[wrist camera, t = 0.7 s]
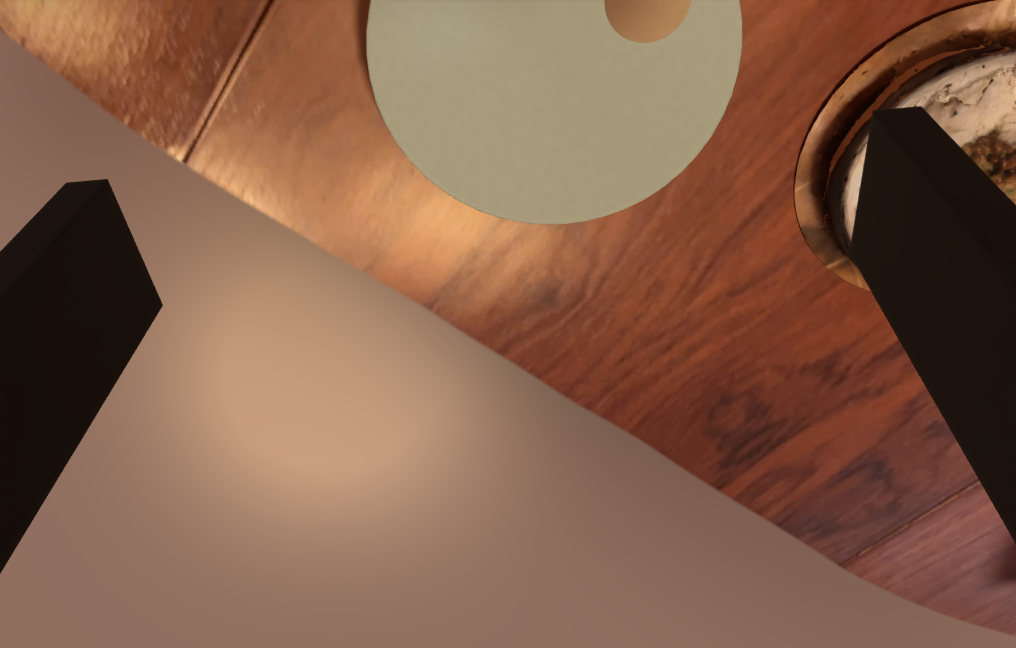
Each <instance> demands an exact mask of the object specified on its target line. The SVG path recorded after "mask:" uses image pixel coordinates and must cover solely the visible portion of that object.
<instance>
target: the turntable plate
mask: <svg viewBox="0 0 1016 648" xmlns="http://www.w3.org/2000/svg"><path fill="white" fill-rule="evenodd" d="M741 50H742V14H741V7H740V0H371V1H370V5H369V13H368V20H367V28H366V56H367V63H368V71H369V78H370V82H371V86H372V89H373V93H374V97H375V101H376V103H377V106H378V108H379V110H380V113H381V115H382V118H383V120H384V123H385V124H386V126H387V128H388V130H389V131H390V133H391V135H392V137H393V138H394V140H395V142H396V143H397V145H398V146H399V147H400V149H401V150H402V151H403V153H404V154H405V155H406V157H407V158H408V159H409V161H410V162H411V163H412V164H413V165H414V166H415V167H416V168H417V169H418V170H419V171H420V172H421V173H422V174H423V175H424V176H425V177H426V178H427V179H429V180H430V181H431V182H432V183H433V184H435V185H436V186H437V187H438V188H440V189H441V190H442V191H444V192H445V193H447V194H448V195H450V196H452V197H453V198H455V199H456V200H458V201H460V202H462V203H464V204H466V205H468V206H470V207H472V208H474V209H476V210H478V211H481V212H484V213H487V214H490V215H493V216H496V217H498V218H502V219H507V220H512V221H516V222H522V223H532V224H568V223H576V222H583V221H588V220H592V219H596V218H600V217H604V216H607V215H610V214H613V213H615V212H618V211H621V210H623V209H626V208H628V207H630V206H632V205H634V204H636V203H638V202H640V201H642V200H644V199H646V198H647V197H649V196H650V195H652V194H653V193H655V192H656V191H658V190H659V189H661V188H663V187H664V186H665V185H667V184H668V183H669V182H670V181H671V180H672V179H674V178H675V177H676V176H677V175H678V174H680V173H681V172H682V171H683V170H684V169H685V168H686V167H687V166H688V165H689V163H690V162H691V161H692V160H693V159H694V158H695V157H696V156H697V155H698V154H699V152H700V151H701V150H702V148H703V147H704V146H705V144H706V143H707V141H708V140H709V139H710V137H711V136H712V134H713V133H714V131H715V129H716V127H717V126H718V124H719V122H720V120H721V118H722V117H723V115H724V112H725V110H726V108H727V105H728V103H729V100H730V98H731V95H732V93H733V89H734V86H735V82H736V78H737V75H738V71H739V65H740V58H741Z"/></svg>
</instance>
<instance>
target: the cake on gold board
mask: <svg viewBox="0 0 1016 648" xmlns="http://www.w3.org/2000/svg"><path fill="white" fill-rule="evenodd" d="M917 106H921V107H922V108H923V109H924V110H925V111H926V112H927V113H928V114H929V115H930V116H931V117H932V118H933V119H934V120H935V121H936V122H937V123H938V124H939V125H940V126H941V127H942V129H943V130H944V131H945V132H946V133H947V134H948V135H949V136H950V137H951V138H952V139H953V140H954V141H955V142H956V143H957V144H958V145H959V146H960V147H961V148H962V149H963V150H964V152H965V153H966V154H967V155H968V156H969V157H970V158H971V159H972V160H973V161H974V162H975V163H976V164H977V165H978V166H979V167H980V168H981V169H982V170H983V171H984V172H985V173H986V175H987V176H988V177H989V178H990V179H991V180H992V181H993V182H994V183H995V184H996V185H997V186H998V187H999V188H1000V189H1001V190H1002V191H1003V192H1004V193H1005V194H1006V195H1007V197H1008V198H1009V199H1010V200H1011V201H1012V202H1013V203H1014V204H1015V205H1016V0H996V1H990V2H985V3H980V4H976V5H972V6H968V7H964V8H961V9H958V10H955V11H951V12H948V13H945V14H943V15H940V16H938V17H936V18H933V19H931V20H930V21H927V22H925V23H923V24H920V25H919V26H917V27H915V28H914V29H912V30H910V31H908V32H906V33H904V34H902V35H900V36H898V37H897V38H895V39H894V40H892V41H891V42H889V43H887V44H886V46H885V47H884V48H882V49H881V50H880V51H878V52H876V53H875V54H874V55H873V56H872V57H871V58H869V59H868V60H867V61H865V62H864V63H863V64H861V65H860V66H859V68H858V69H857V70H854V73H853V74H851V76H850V77H848V79H847V80H845V83H843V85H841V87H840V88H839V89H837V91H836V92H835V94H833V95H832V97H831V99H830V100H829V101H828V103H827V105H826V106H825V108H824V109H823V110H822V112H821V113H820V115H819V116H818V118H817V120H816V122H815V123H814V125H813V127H812V129H811V131H810V133H809V134H808V137H807V139H806V142H805V145H804V148H803V150H802V152H801V155H800V158H799V162H798V167H797V173H796V181H795V206H796V213H797V217H798V221H799V224H800V227H801V230H802V233H803V235H804V237H805V239H806V241H807V243H808V245H809V246H810V248H811V249H812V251H813V252H814V253H815V255H816V256H817V257H818V258H819V260H820V261H821V262H822V263H823V264H824V265H825V266H826V267H827V268H829V269H830V270H831V271H832V272H834V273H835V274H836V275H838V277H839V278H840V277H841V278H842V279H844V280H846V281H847V282H849V283H851V284H854V285H856V286H858V287H861V288H863V289H866V290H869V291H871V290H870V288H869V287H868V285H867V283H866V281H865V280H864V278H863V276H862V274H861V273H860V271H859V269H858V267H857V266H856V264H855V262H854V260H853V259H852V257H851V255H850V253H849V251H850V245H851V239H852V233H853V227H854V221H855V215H856V209H857V202H858V196H859V190H860V184H861V178H862V172H863V166H864V160H865V154H866V148H867V142H868V136H869V130H870V124H871V118H872V112H873V110H883V109H895V108H906V107H917ZM832 128H833V129H832Z"/></svg>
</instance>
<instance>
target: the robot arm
mask: <svg viewBox="0 0 1016 648" xmlns="http://www.w3.org/2000/svg"><path fill="white" fill-rule="evenodd" d="M849 253H850V255H851V257H852V259H853V260H854V262H855V264H856V266H857V267H858V269H859V271H860V273H861V274H862V276H863V278H864V280H865V281H866V283H867V285H868V287H869V288H870V290H871V292H872V294H873V295H874V297H875V299H876V301H877V302H878V304H879V306H880V308H881V309H882V311H883V313H884V315H885V316H886V318H887V320H888V322H889V323H890V325H891V327H892V328H893V330H894V332H895V334H896V335H897V337H898V339H899V341H900V342H901V344H902V346H903V348H904V349H905V351H906V353H907V355H908V356H909V358H910V360H911V362H912V363H913V365H914V367H915V369H916V370H917V372H918V374H919V376H920V377H921V379H922V381H923V383H924V384H925V386H926V388H927V390H928V391H929V393H930V395H931V396H932V398H933V400H934V402H935V403H936V405H937V407H938V409H939V410H940V412H941V414H942V416H943V417H944V419H945V421H946V423H947V424H948V426H949V428H950V430H951V431H952V433H953V435H954V437H955V438H956V440H957V442H958V444H959V445H960V447H961V449H962V451H963V452H964V454H965V456H966V458H967V459H968V461H969V463H970V465H971V466H972V468H973V470H974V471H975V473H976V475H977V477H978V478H979V480H980V482H981V484H982V485H983V487H984V489H985V491H986V492H987V494H988V496H989V498H990V499H991V501H992V503H993V505H994V506H995V508H996V510H997V512H998V513H999V515H1000V517H1001V519H1002V520H1003V522H1004V524H1005V526H1006V527H1007V529H1008V531H1009V533H1010V534H1011V536H1012V538H1013V539H1014V541H1015V543H1016V205H1015V204H1014V203H1013V202H1012V201H1011V200H1010V199H1009V198H1008V197H1007V195H1006V194H1005V193H1004V192H1003V191H1002V190H1001V189H1000V188H999V187H998V186H997V185H996V184H995V183H994V182H993V181H992V180H991V179H990V178H989V177H988V176H987V175H986V173H985V172H984V171H983V170H982V169H981V168H980V167H979V166H978V165H977V164H976V163H975V162H974V161H973V160H972V159H971V158H970V157H969V156H968V155H967V154H966V153H965V152H964V150H963V149H962V148H961V147H960V146H959V145H958V144H957V143H956V142H955V141H954V140H953V139H952V138H951V137H950V136H949V135H948V134H947V133H946V132H945V131H944V130H943V129H942V127H941V126H940V125H939V124H938V123H937V122H936V121H935V120H934V119H933V118H932V117H931V116H930V115H929V114H928V113H927V112H926V111H925V110H924V109H923V108H922V107H921V106H917V107H906V108H895V109H883V110H873V112H872V118H871V124H870V130H869V136H868V142H867V148H866V154H865V160H864V166H863V172H862V178H861V184H860V190H859V196H858V202H857V209H856V215H855V221H854V227H853V233H852V239H851V245H850V251H849ZM162 306H163V305H162V302H161V300H160V298H159V295H158V293H157V291H156V289H155V286H154V284H153V282H152V280H151V277H150V275H149V273H148V270H147V268H146V266H145V263H144V261H143V259H142V257H141V254H140V252H139V250H138V247H137V246H136V243H135V241H134V239H133V236H132V234H131V232H130V229H129V227H128V225H127V222H126V220H125V218H124V216H123V213H122V211H121V209H120V207H119V204H118V202H117V200H116V197H115V195H114V193H113V191H112V188H111V186H110V184H109V181H108V179H103V180H92V181H81V182H70V183H66V184H65V185H64V186H63V187H62V188H61V189H60V190H59V191H58V192H57V193H56V194H55V195H54V196H53V197H52V198H51V199H50V200H49V201H48V202H47V203H46V205H45V206H44V207H43V208H42V209H41V210H40V211H39V212H38V213H37V214H36V215H35V216H34V217H33V218H32V219H31V220H30V221H29V222H28V223H27V224H26V225H25V226H24V227H23V229H22V230H21V231H20V232H19V233H18V234H17V235H16V236H15V237H14V238H13V239H12V240H11V241H10V242H9V243H8V244H7V245H6V246H5V247H4V248H3V249H2V250H1V251H0V573H1V571H2V570H3V568H4V567H5V565H6V563H7V561H8V560H9V558H10V557H11V555H12V553H13V551H14V550H15V548H16V547H17V545H18V543H19V542H20V540H21V538H22V537H23V535H24V533H25V532H26V530H27V528H28V527H29V525H30V524H31V522H32V520H33V519H34V517H35V515H36V514H37V512H38V510H39V509H40V507H41V505H42V504H43V502H44V501H45V499H46V497H47V496H48V494H49V492H50V491H51V489H52V487H53V486H54V484H55V482H56V481H57V479H58V477H59V476H60V474H61V473H62V471H63V469H64V467H65V466H66V464H67V463H68V461H69V459H70V458H71V456H72V454H73V453H74V451H75V449H76V448H77V446H78V445H79V443H80V441H81V440H82V438H83V436H84V435H85V433H86V431H87V430H88V428H89V426H90V425H91V423H92V421H93V420H94V418H95V416H96V415H97V413H98V412H99V410H100V408H101V406H102V405H103V403H104V401H105V400H106V398H107V397H108V395H109V393H110V392H111V390H112V388H113V387H114V385H115V383H116V382H117V380H118V379H119V377H120V375H121V374H122V372H123V370H124V368H125V367H126V365H127V363H128V362H129V360H130V358H131V357H132V355H133V354H134V352H135V350H136V349H137V347H138V345H139V344H140V342H141V340H142V339H143V337H144V336H145V334H146V332H147V330H148V329H149V327H150V326H151V324H152V322H153V321H154V319H155V317H156V316H157V314H158V312H159V311H160V309H161V308H162Z"/></svg>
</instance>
